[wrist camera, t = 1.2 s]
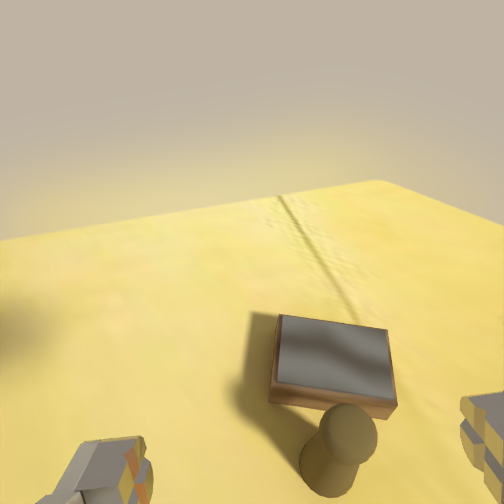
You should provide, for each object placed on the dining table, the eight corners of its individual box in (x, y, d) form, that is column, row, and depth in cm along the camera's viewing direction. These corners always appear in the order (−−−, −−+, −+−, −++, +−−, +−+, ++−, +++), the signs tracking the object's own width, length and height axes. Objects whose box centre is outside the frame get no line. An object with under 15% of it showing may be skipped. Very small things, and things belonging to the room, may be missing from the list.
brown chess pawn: (309, 504, 40) (332, 470, 32) (292, 442, 44) (309, 399, 36) (364, 490, 41) (399, 454, 33) (342, 431, 45) (369, 387, 37)
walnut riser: (386, 420, 46) (399, 403, 43) (268, 401, 47) (272, 384, 44) (378, 346, 53) (388, 327, 50) (275, 331, 54) (279, 311, 51)
